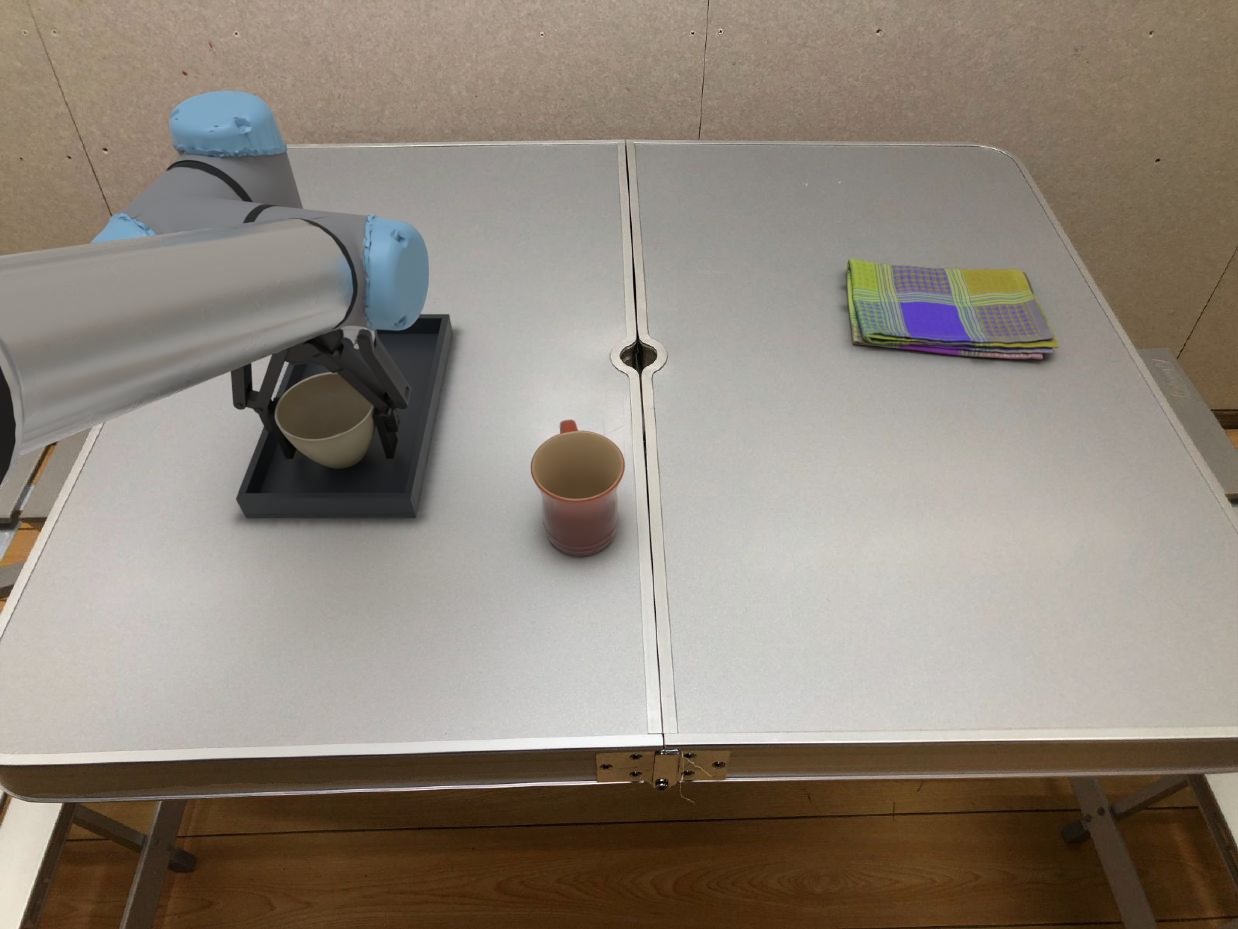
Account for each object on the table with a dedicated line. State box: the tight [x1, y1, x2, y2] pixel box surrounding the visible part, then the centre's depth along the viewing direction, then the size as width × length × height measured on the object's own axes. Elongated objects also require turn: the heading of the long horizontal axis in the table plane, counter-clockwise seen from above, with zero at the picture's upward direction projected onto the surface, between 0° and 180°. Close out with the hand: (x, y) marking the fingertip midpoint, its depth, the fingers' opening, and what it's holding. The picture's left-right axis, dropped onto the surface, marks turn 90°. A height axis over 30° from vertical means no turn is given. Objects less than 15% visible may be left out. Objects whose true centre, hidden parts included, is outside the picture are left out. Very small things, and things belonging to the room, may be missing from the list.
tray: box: [235, 313, 454, 519], centre depth 95 cm, size 30×18×3 cm, turn 0°
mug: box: [530, 419, 626, 557], centre depth 82 cm, size 12×9×10 cm
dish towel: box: [846, 258, 1060, 360], centre depth 108 cm, size 18×24×3 cm
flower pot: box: [275, 372, 376, 469], centre depth 88 cm, size 10×10×7 cm
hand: (342, 449), depth 90 cm, fingers closed on flower pot, 10 cm apart
